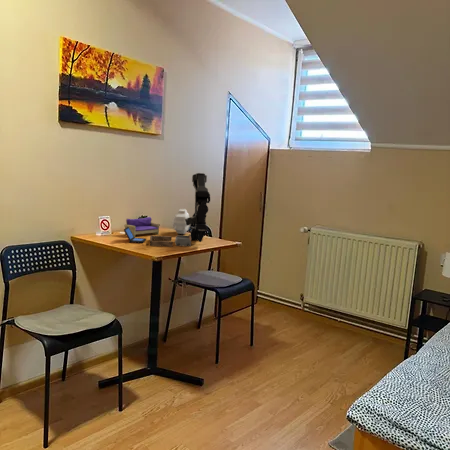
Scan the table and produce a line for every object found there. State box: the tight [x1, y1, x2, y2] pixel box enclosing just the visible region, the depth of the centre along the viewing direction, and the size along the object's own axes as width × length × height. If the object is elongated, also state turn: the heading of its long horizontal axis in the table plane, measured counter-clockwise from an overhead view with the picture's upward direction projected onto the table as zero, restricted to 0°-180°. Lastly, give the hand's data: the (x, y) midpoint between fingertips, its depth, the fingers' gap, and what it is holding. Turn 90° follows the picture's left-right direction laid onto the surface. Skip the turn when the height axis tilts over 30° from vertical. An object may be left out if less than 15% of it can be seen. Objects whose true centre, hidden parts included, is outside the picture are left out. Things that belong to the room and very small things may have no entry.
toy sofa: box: [124, 216, 161, 238], centre depth 275 cm, size 21×9×10 cm, turn 142°
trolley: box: [174, 233, 192, 247], centre depth 254 cm, size 8×12×5 cm, turn 8°
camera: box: [171, 208, 190, 235], centre depth 289 cm, size 11×18×16 cm, turn 178°
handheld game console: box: [123, 227, 147, 244], centre depth 253 cm, size 12×11×7 cm
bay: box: [149, 235, 173, 248], centre depth 252 cm, size 12×18×2 cm, turn 8°
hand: (199, 240), depth 255 cm, fingers open, 9 cm apart
